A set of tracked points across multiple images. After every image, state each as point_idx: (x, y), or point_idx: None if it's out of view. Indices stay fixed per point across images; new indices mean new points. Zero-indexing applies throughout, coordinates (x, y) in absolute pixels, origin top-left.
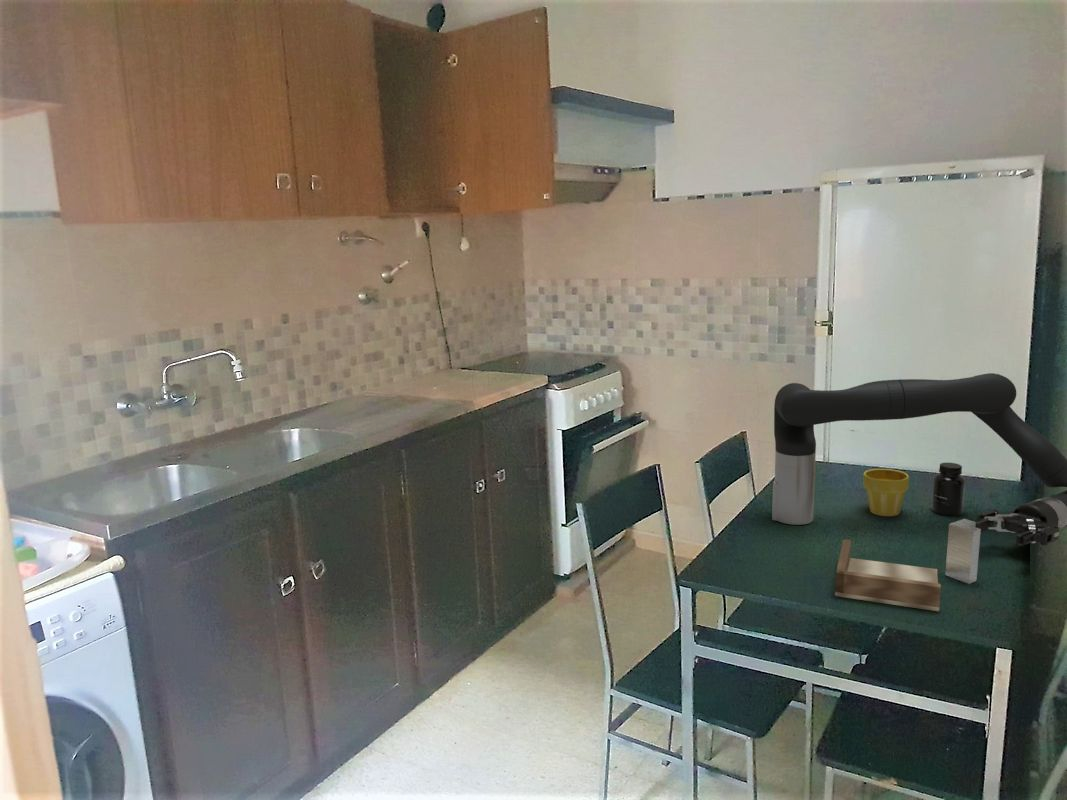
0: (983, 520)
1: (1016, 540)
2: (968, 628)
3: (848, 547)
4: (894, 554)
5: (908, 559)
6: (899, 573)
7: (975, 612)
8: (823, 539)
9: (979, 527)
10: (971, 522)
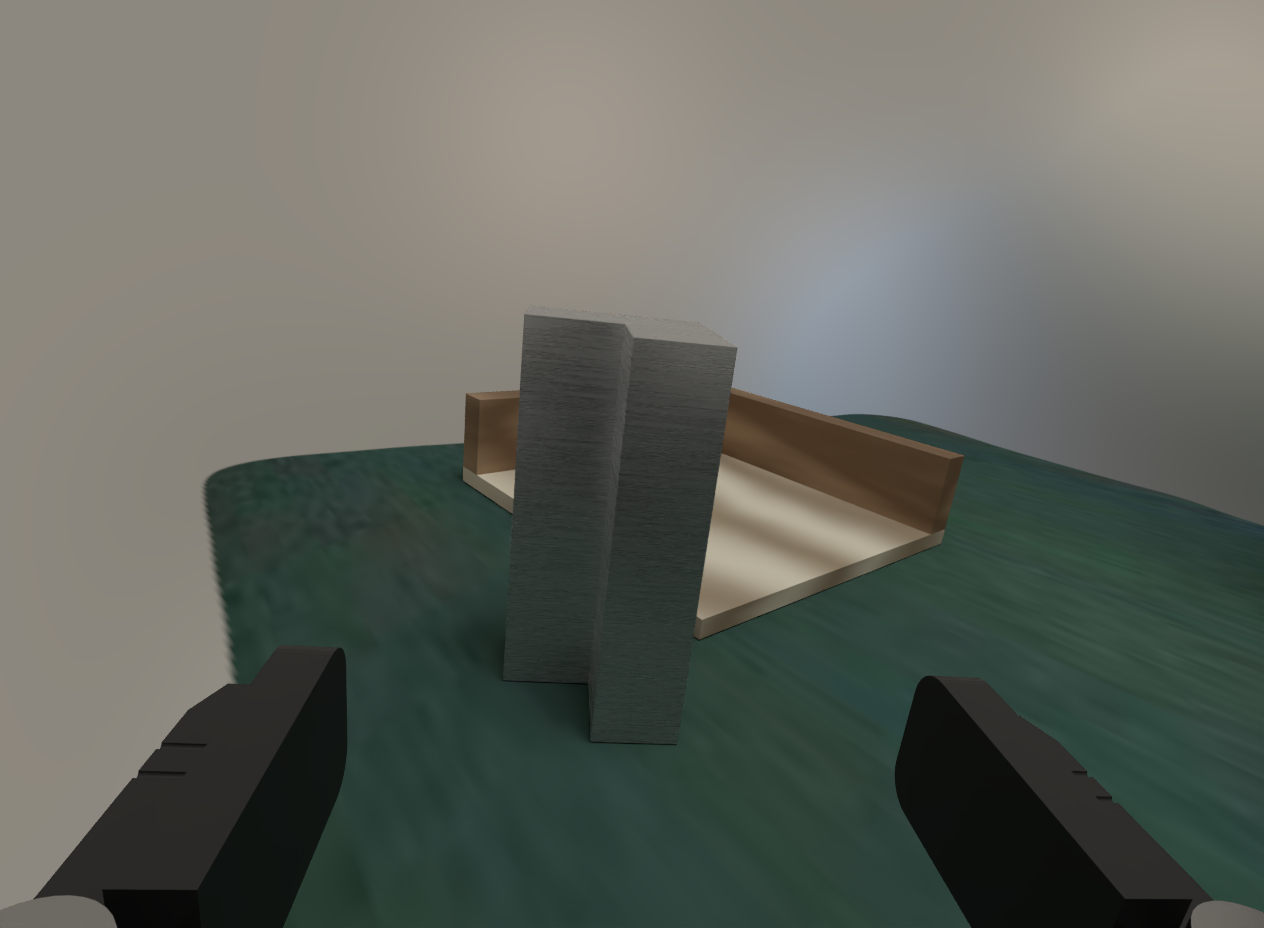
0: (1072, 792)
1: (341, 706)
2: (345, 463)
3: (875, 435)
4: (1000, 674)
5: (913, 671)
6: (732, 534)
7: (363, 511)
8: (1221, 614)
9: (918, 734)
10: (645, 333)
